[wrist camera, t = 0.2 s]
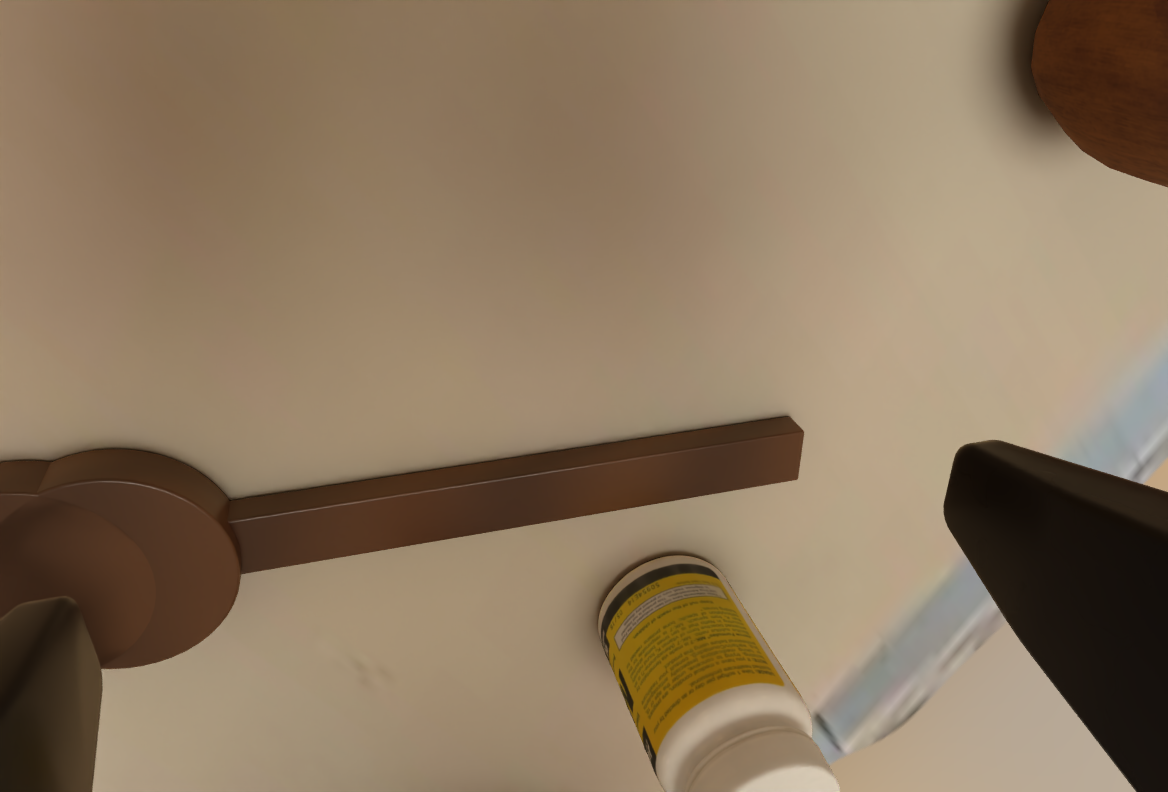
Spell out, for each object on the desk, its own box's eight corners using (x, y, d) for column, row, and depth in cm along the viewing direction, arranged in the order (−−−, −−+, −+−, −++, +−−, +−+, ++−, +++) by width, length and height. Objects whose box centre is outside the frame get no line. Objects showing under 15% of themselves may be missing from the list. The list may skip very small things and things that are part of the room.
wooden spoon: (797, 355, 27) (821, 376, 25) (777, 516, 30) (798, 543, 28) (-137, 479, 21) (-166, 516, 20) (-49, 665, 24) (-69, 707, 23)
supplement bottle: (566, 620, 29) (652, 847, 22) (672, 526, 28) (795, 728, 21) (652, 680, 32) (754, 901, 24) (751, 595, 31) (885, 797, 24)
